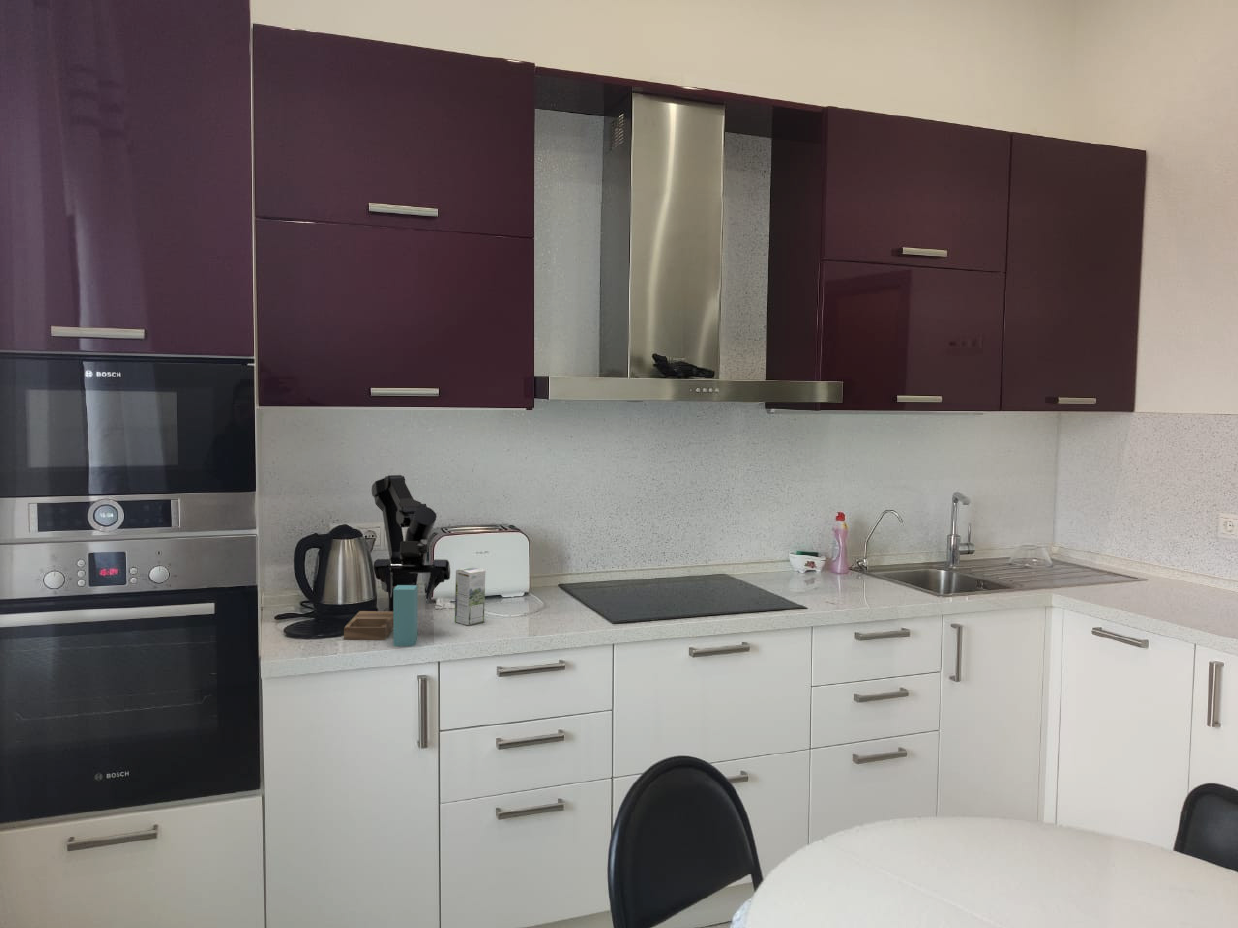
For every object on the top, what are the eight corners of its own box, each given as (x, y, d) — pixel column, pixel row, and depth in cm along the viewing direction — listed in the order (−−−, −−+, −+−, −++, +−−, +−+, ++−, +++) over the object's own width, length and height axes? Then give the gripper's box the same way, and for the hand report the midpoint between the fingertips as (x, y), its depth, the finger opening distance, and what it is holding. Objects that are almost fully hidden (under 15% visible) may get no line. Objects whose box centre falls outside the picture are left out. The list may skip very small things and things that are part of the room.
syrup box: (470, 618, 254) (470, 566, 253) (485, 622, 250) (485, 569, 249) (454, 622, 250) (454, 569, 248) (469, 626, 246) (469, 572, 245)
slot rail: (359, 622, 248) (359, 611, 247) (397, 622, 248) (397, 611, 248) (344, 639, 231) (344, 627, 230) (384, 639, 231) (384, 627, 231)
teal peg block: (397, 640, 231) (397, 584, 230) (417, 640, 231) (417, 585, 230) (393, 645, 226) (393, 589, 225) (414, 646, 226) (414, 589, 225)
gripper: (374, 527, 235) (365, 579, 225) (449, 528, 236) (443, 579, 226) (380, 552, 243) (372, 604, 233) (452, 553, 244) (447, 604, 234)
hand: (408, 597), depth 231 cm, fingers open, 9 cm apart
